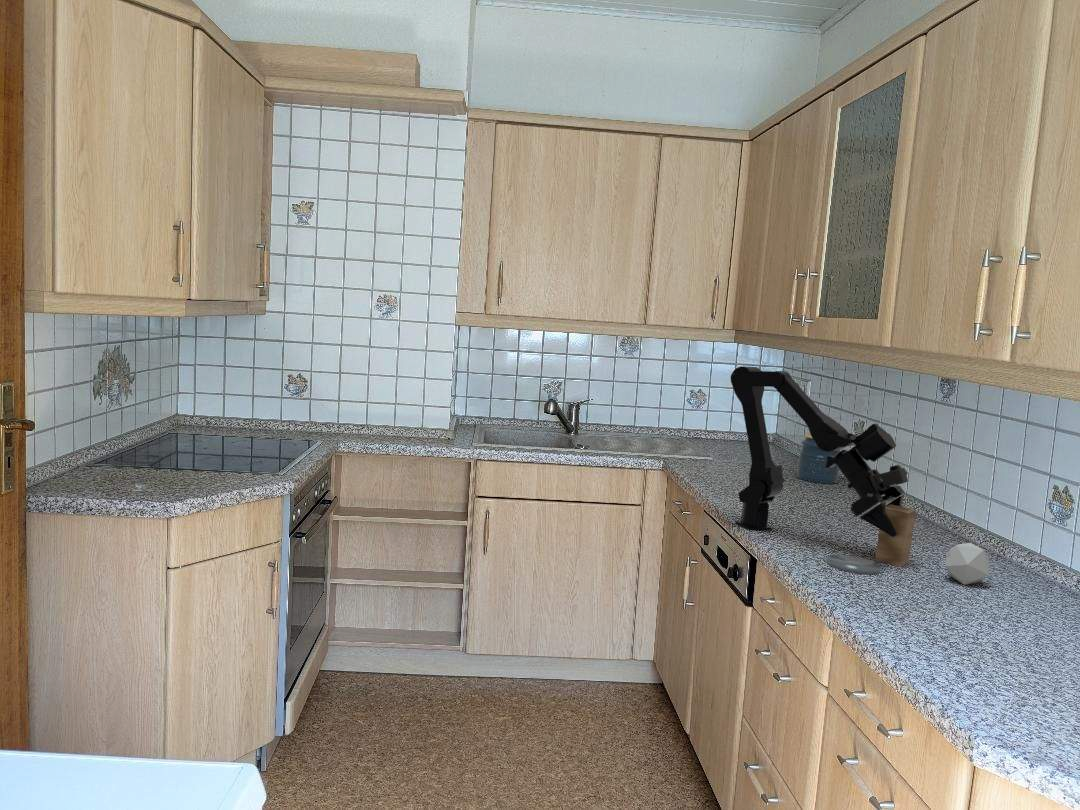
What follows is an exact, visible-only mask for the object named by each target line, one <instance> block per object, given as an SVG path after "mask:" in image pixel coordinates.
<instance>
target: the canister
mask: <svg viewBox="0 0 1080 810" xmlns="http://www.w3.org/2000/svg"><path fill="white" fill-rule="evenodd" d="M804 437H805V439H803V440H801V441H800V443H801V450H800V451H799V459H798V468H797V471H796V474H797V478H799V479H800V480H803V481H807V482H812V483H818V484H828V485H829V484H837V482H838V480H839V476H840V475H839V472H840V470H839V469H838V467H837V466H836V465H835V466H834V467H831V468H826V463H827V456H831V455H832V456H835V455H836V454H838V453H839V452H840V451H842V449H840V450H836V451H831V452H827V451H823V450H821V449H820V448H819V447H818V446H817V444H816V443H815V441H814V440H813V438H812V436H811V434H810V431H809V432H807V433H805V434H804Z"/></svg>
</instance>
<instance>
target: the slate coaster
mask: <svg viewBox="0 0 1080 810" xmlns="http://www.w3.org/2000/svg"><path fill="white" fill-rule="evenodd" d="M825 563H826V564H827V565H828V566H830V567H831V566H832V568H833V569H836V568H837V569H836V570H839V569H840V571H842V570H843V571H842V572H846V571H847V572H848V573H851V572H853V573H852V574H857V573H858V575H867V574H871V575H877V573H878V574H880V573H881V572H882V571H881V569H882V567H881V565H880V564H879V563H877V562H875V561H873V560H871V559H866V558H864V557H859V556H854V555H847V554H830V555H828V556H826V559H825ZM847 572H846V573H847Z"/></svg>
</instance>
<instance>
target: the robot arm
mask: <svg viewBox="0 0 1080 810" xmlns="http://www.w3.org/2000/svg"><path fill="white" fill-rule="evenodd" d="M730 383H731V386H732V388H733V392H734V394H735V395H736V397H737V400H738V401H739V402H740V404H741V407H742V411H743V412H742V413H743V417H744V419H743V420H744V423H745V431H746V436H747V441H748V442H747V443H748V447H749V448H748V449H749V452H750V458H751V465H750V468H749V473H748V486H746V487H745V488H743V489H742V490H741V491H739V492H738V498H739V501H740V502H741V503H742V509H741V510H742V511H741V519H740V520H735V524H737V525H739V526H742V527H744V528H746V529H747V530H773V529H772V528H773V527H771V526H769V525H768V521H769V514H770V513H769V512H770V511H769V510H770V509H769V508H770V504H769V503H770V502H773V501H774V500H775V497H776V496H778V495H779V494H780V493H781V492H782V491H783V488H784V483H786V480H785V478H784V476H783V475H784V474H783V466H782V465H781V464H780V465H776V464H775V463H774V460H773V459H772V455H771V448H770V443H769V437H768V431H767V426H766V419H765V414H764V409H763V403H762V402H763V401H762V400H763V396H764V392H765V387H769V388H772V387H773V388H774V389H776V391H777V392H778V393H779V395H780V396H781V397H782V398H783V400H784V401H786V402H787V403H788V405H789V406H790V407H791V408H792V409H793V410H794V412H795V413H796V414H797V415H798V416H799V417H800V418H801V419H802V421H803V422H804V423H805V424H806V427H808V431H809V432H810V434H811V436H812V438H813V440H814V441H815V443H816V444H817V446H818V447H819V448H820V449H821V450H823V451H827V452H831V451H836V450H840V449H841V450H840V452H839V453H838V454H836V455H835V456H832V455H831V456H827V463H826V468H831V467H834V466H835V465H836V466H837V467H838V469H839V472H841V474H842V476H843V477H844V478H845V480H846V481H847V482H848V484H847V485H846V486H847V488H848V489H849V490H853V491H855V493H856V495H857V496H858V497H859V499H857V500H855V501H854V502H853V503H851V505H850V511H851V513H852V514H853V515H854V516H855V518H858V517H859V519H860V520H863V521H865V522H866V523H869V524H870V525H872V526H874V527H875V528H877V529H878V530H879V529H880V530H882V531H884V532H885V533H887V534H889V535H890V536H892V537H894V536H896V535H897V533H896V531H895V529H894V527H893V525H892V523H891V521H890V520H889V518H888V516H887V514H886V512H885V506H888V505H890V504H891V505H896V506H901V507H903V501H904V498H905V494H904V493H905V492H906V491H904V489H903V488H902V487H901V485H902V484H905V483H907V482H909V479H908V476H907V475H908V474H909V472H908V471H907V470H906V468H905V467H902V466H901V465H900V464H896V465H892V466H889V467H890V468H889V471H886V472H881V473H880V472H879V471H878V469H875V468H874V469H872V468H871V466H870V465H869V464H868V463H867V462H868V461H871V462H877V461H878V460H880V459H882V457H884V456H885V455H886V454H888V453H889V452H891V451H892V450H894V449H895V448H896V447H897V444H896V441H895V440H894V438H893V437H892V435H891V434H890V433H888V432H887V431H886V430H885V429H884V428H883V427H881V426H880V425H879V424H878V423H872V424H871V425H870V426H869V427H867V428H866V430H864V431H862V432H861V433H860V434H858V435H857V434H854V433H850V432H848V429H846V428H845V427H844V426H842V425H841V424H840V423H839V422H838V421H836V420H835V419H833V418H832V417H830V416H829V415H826V414H825V413H824V411H822V410H821V409H820V408H819V407H818V406H817V404H815V402H814V401H813V400H812V399H811V398H810V397H809V395H808V394H807V393H806V392H805V391H804V390H803V388H801V387H800V385H799V384H798V383H797V382H796V381H795V380H794V379H793V377H792V376H791V374H790V372H788V371H785V370H775V371H773V370H772V371H771V370H769V371H768V370H766V371H765V370H763V371H762V369H760V368H759V367H757V366H738V367H736V368H735V369H734V370H733V371H732V373H731V374H730ZM850 446H853V447H852V448H850V449H849V450H847V449H844V448H846V447H850Z"/></svg>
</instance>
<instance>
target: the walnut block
mask: <svg viewBox="0 0 1080 810" xmlns="http://www.w3.org/2000/svg"><path fill="white" fill-rule="evenodd" d="M885 512H886V514H887V516H888V518H889V520H890V521H891V523H892V525H893V527H894V529H895V531H896V533H897V535H896V536H894V537H892V536H890V535H889V534H887V533H885V532H884V531H882V530H880V529H879V528H878V536H877V537H878V538H877V543H876V552H875V556H874V557H875V558H874V559H875V560H874V562H875V561H876V562H878V561H879V562H878V563H882V562H883V564H886V563H887V564H886V565H890V564H891V565H890V566H894V567H898V568H902V567H904V566H906V565H908V564H909V562H910V554H911V550H912V542H913V535H914V527H915V521H916V514H917V509H914V508H910V507H904V506H902V507H901V506H896V505H891V504H890V505H888V506H885ZM905 564H906V565H905ZM903 565H904V566H903Z"/></svg>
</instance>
